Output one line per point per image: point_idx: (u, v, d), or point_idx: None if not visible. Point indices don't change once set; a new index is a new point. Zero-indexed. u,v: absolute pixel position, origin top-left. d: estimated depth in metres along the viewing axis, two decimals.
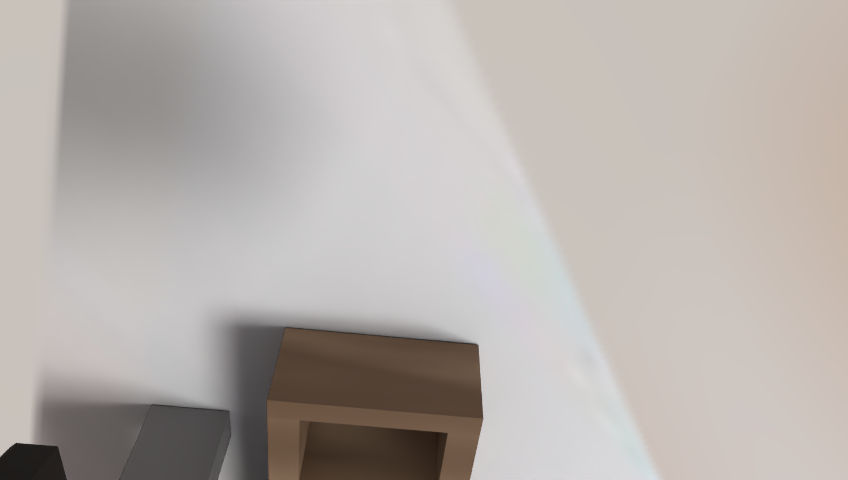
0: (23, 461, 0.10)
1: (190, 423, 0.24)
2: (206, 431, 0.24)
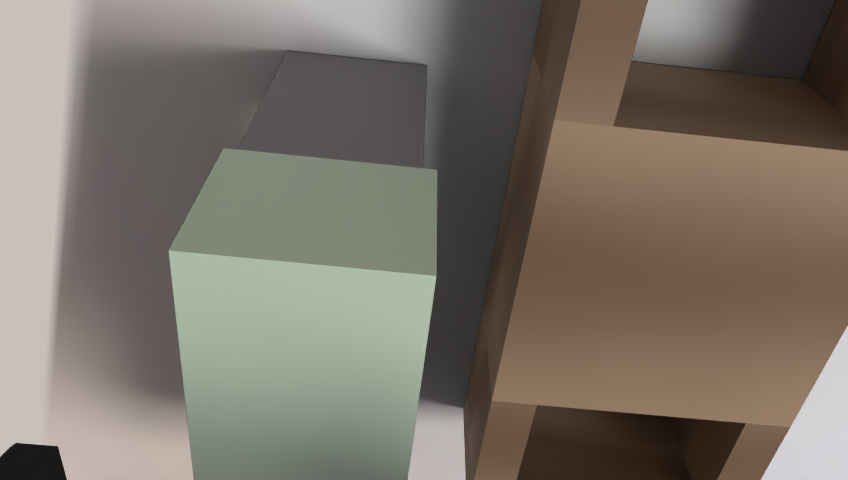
0: (23, 462, 0.10)
1: (363, 72, 0.13)
2: (396, 81, 0.13)
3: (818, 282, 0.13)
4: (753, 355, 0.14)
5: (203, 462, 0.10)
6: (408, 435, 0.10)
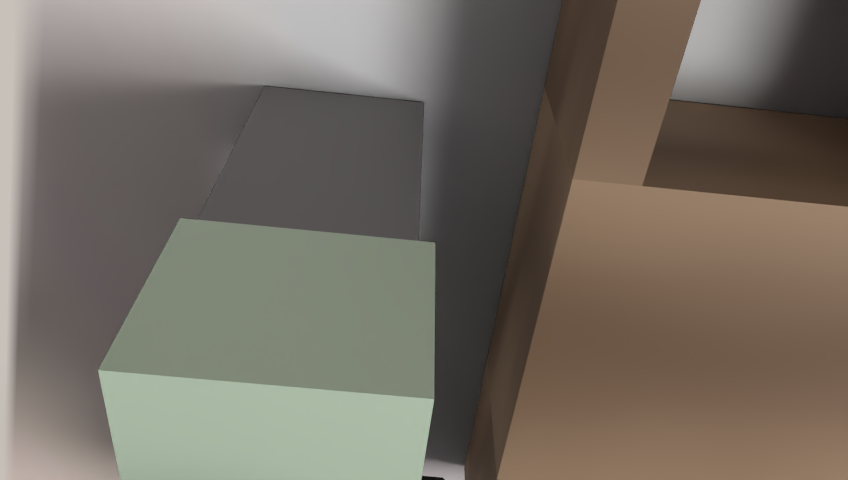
0: None
1: (351, 112, 0.11)
2: (388, 123, 0.11)
3: None
4: (794, 432, 0.12)
5: None
6: None
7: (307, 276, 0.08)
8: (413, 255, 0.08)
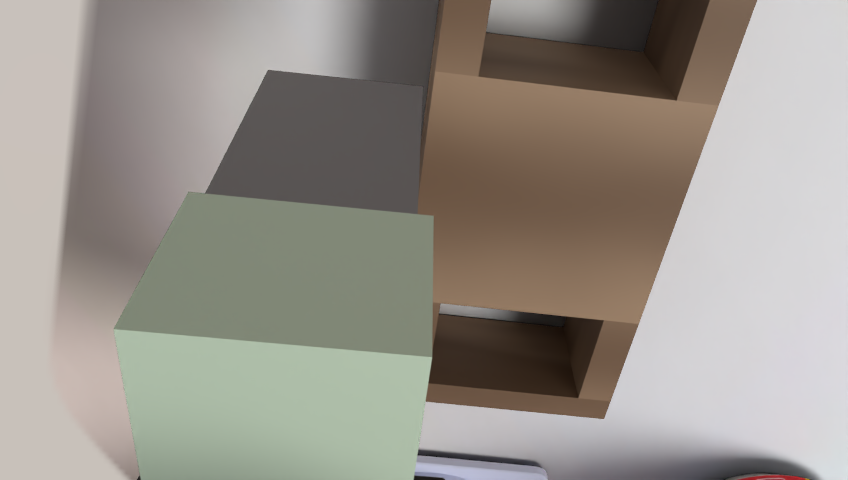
0: None
1: (352, 94, 0.12)
2: (388, 105, 0.12)
3: (643, 201, 0.17)
4: (602, 261, 0.18)
5: None
6: None
7: (311, 245, 0.08)
8: (412, 227, 0.09)
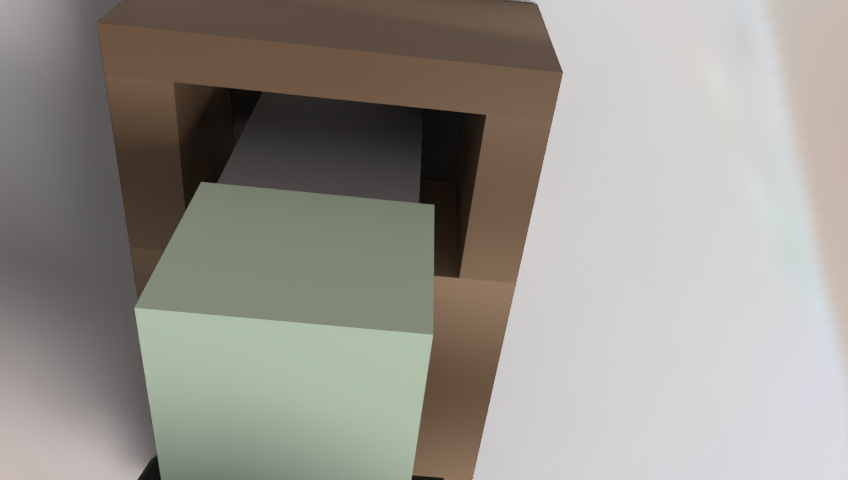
0: None
1: None
2: None
3: (441, 388, 0.13)
4: None
5: None
6: None
7: (318, 232, 0.09)
8: (414, 215, 0.09)
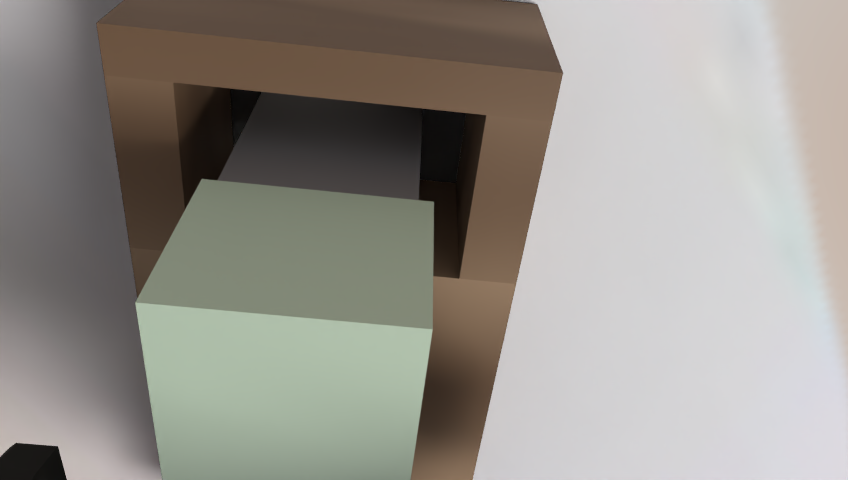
0: (23, 461, 0.10)
1: None
2: None
3: (441, 389, 0.13)
4: None
5: None
6: None
7: (318, 228, 0.09)
8: (414, 212, 0.09)
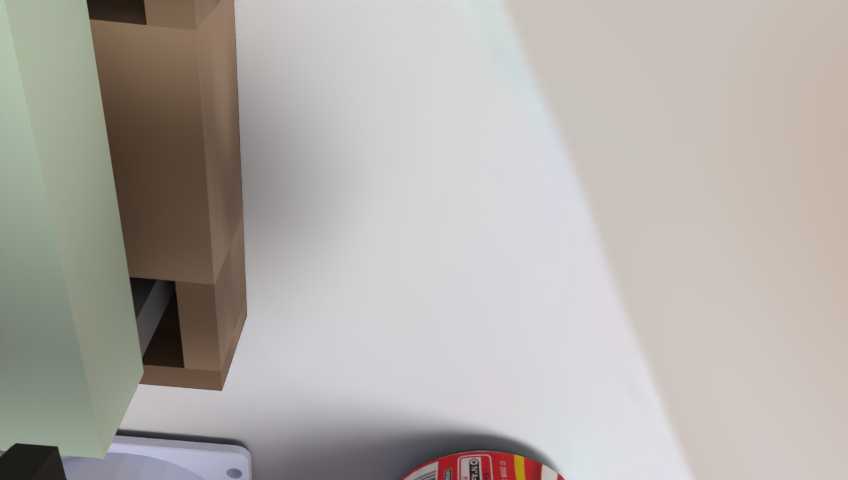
0: (23, 460, 0.10)
1: None
2: None
3: (161, 144, 0.15)
4: (145, 214, 0.16)
5: None
6: (31, 143, 0.11)
7: None
8: None
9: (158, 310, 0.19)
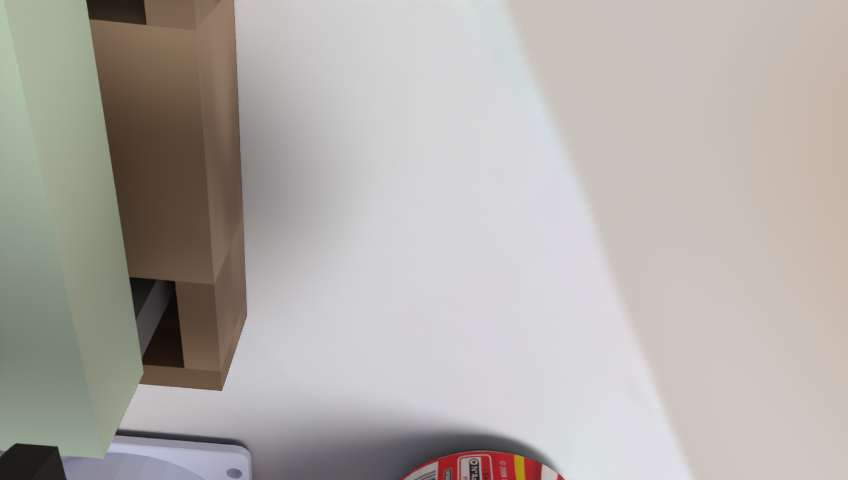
0: (23, 460, 0.10)
1: None
2: None
3: (161, 144, 0.15)
4: (145, 214, 0.16)
5: None
6: (31, 143, 0.11)
7: None
8: None
9: (157, 310, 0.19)
